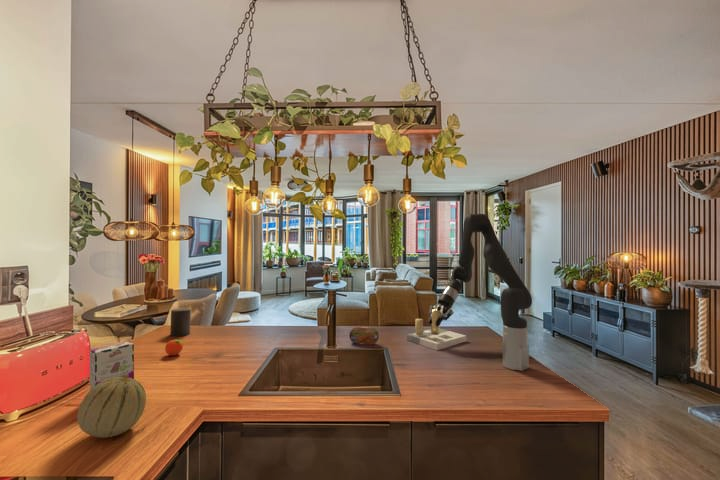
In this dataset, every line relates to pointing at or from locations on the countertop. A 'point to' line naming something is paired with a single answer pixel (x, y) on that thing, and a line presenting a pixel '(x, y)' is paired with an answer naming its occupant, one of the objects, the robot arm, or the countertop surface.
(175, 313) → the pillar candle
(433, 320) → the brass pin
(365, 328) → the tin
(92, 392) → the cantaloupe
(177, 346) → the red tomato
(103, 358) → the candy bar box
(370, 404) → the countertop surface
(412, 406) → the countertop surface
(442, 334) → the pegboard
